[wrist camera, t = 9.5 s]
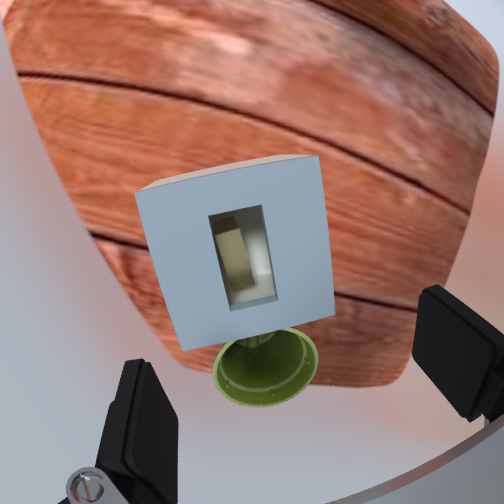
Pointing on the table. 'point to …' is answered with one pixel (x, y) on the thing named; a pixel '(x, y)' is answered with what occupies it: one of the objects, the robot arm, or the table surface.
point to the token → (233, 253)
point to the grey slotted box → (255, 241)
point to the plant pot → (265, 368)
